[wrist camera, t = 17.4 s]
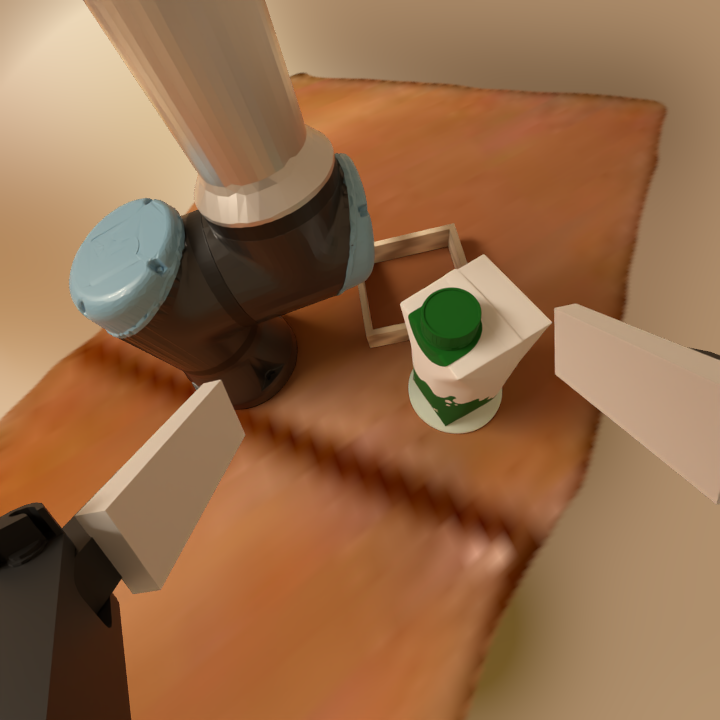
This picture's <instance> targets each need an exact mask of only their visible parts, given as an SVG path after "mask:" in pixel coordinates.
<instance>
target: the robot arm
mask: <svg viewBox="0 0 720 720" xmlns="http://www.w3.org/2000/svg"><path fill="white" fill-rule="evenodd" d="M83 1H84V2H85V4H86V5H87V7H88V8H89V10H90V11H91V13H92V14H93V16H94V17H95V18H96V20H97V22H98V23H99V25H100V26H101V28H102V29H103V31H104V32H105V34H106V35H107V37H108V38H109V40H110V41H111V43H112V44H113V46H114V47H115V49H116V50H117V52H118V53H119V55H120V57H121V58H122V60H123V61H124V62H125V64H126V66H127V67H128V69H129V70H130V72H131V73H132V75H133V76H134V78H135V79H136V81H137V82H138V84H139V85H140V87H141V88H142V90H143V91H144V93H145V94H146V96H147V97H148V99H149V100H150V102H151V103H152V105H153V106H154V108H155V109H156V111H157V112H158V114H159V115H160V117H161V118H162V120H163V121H164V123H165V124H166V126H167V127H168V129H169V130H170V132H171V133H172V135H173V136H174V138H175V139H176V141H177V142H178V144H179V145H180V147H181V148H182V150H183V152H184V153H185V154H186V156H187V157H188V159H189V161H190V162H191V164H192V165H193V167H194V168H195V170H196V171H197V172H198V177H197V181H196V185H195V190H194V200H195V204H196V206H197V208H198V210H196V211H194V212H190V213H188V214H186V215H183V216H180V215H179V213H178V211H177V210H175V208H173V207H171V206H169V205H168V204H166V203H165V202H163V201H161V200H156V199H154V200H152V199H150V198H144V199H138V200H135V201H131V202H128V203H126V204H124V205H122V206H120V207H118V208H117V209H115V210H114V211H112V212H111V213H110V214H108V215H107V216H106V217H105V218H103V220H101V221H100V222H99V223H98V224H97V225H96V226H95V227H94V228H93V229H92V231H91V232H90V233H89V234H88V236H87V237H86V239H85V241H84V242H83V243H82V245H81V246H80V248H79V250H78V251H77V254H76V256H75V258H74V261H73V264H72V267H71V272H70V279H69V288H70V294H71V297H72V300H73V302H74V304H75V306H76V307H77V309H78V310H79V311H80V312H81V313H82V314H83V315H84V316H85V317H87V318H88V319H90V320H92V321H93V322H95V323H96V324H98V325H99V326H101V327H102V328H104V329H106V331H107V332H108V333H109V334H111V335H112V336H114V337H117V338H119V339H121V340H123V341H125V342H127V343H129V344H131V345H133V346H135V347H137V348H139V349H141V350H143V351H145V352H147V353H149V354H151V355H153V356H155V357H157V358H159V359H161V360H163V361H165V362H167V363H169V364H170V365H172V366H174V367H176V368H178V369H180V370H182V371H183V372H184V373H185V374H186V376H187V377H188V379H189V380H190V381H191V382H192V384H193V386H194V387H195V389H196V390H197V391H196V392H195V393H194V394H193V395H192V396H191V397H190V398H189V399H188V400H187V401H186V402H185V403H184V404H183V405H182V406H181V407H180V408H179V409H178V410H177V411H176V412H175V413H174V414H173V415H172V416H171V417H170V418H169V419H168V420H167V421H166V422H165V423H164V425H163V426H162V427H161V428H160V429H159V430H158V431H157V432H156V433H155V434H154V435H153V436H152V437H151V438H150V439H149V440H148V441H147V442H146V443H145V444H144V445H143V446H142V447H141V448H140V449H139V450H138V451H137V452H136V453H135V454H134V455H133V456H132V457H131V458H130V459H129V460H128V462H127V463H126V464H125V465H124V466H123V467H121V468H120V469H119V470H118V471H117V472H116V473H115V474H114V475H113V476H112V478H111V479H110V480H109V481H108V482H107V483H106V484H105V485H104V486H103V487H102V488H101V489H100V490H99V491H98V492H97V493H96V494H95V495H94V496H93V497H92V498H91V499H90V500H89V501H88V502H87V503H86V504H85V505H84V506H83V507H82V508H81V509H80V510H79V511H78V512H77V513H76V514H75V515H74V517H73V518H72V519H71V520H70V521H69V522H68V523H67V524H66V525H65V526H64V527H63V528H61V527H60V526H59V524H58V523H57V522H56V520H55V519H54V518H53V517H52V515H51V514H50V513H49V512H48V510H47V509H46V508H45V506H44V505H43V504H42V503H31V504H28V505H24V506H22V507H19V508H17V509H15V510H12V511H10V512H9V513H7V514H5V515H3V516H1V517H0V720H131V714H130V704H129V694H128V685H127V675H126V665H125V656H124V646H123V636H122V627H121V617H120V607H119V602H118V600H117V598H116V597H115V596H114V594H113V593H112V592H113V591H114V589H115V588H116V586H117V585H118V583H119V582H120V580H121V579H122V580H123V581H124V583H125V584H126V585H127V587H128V588H129V589H130V591H131V592H132V593H133V594H137V593H144V592H150V591H157V590H161V588H162V586H163V585H164V583H165V581H166V579H167V577H168V575H169V574H170V572H171V570H172V568H173V566H174V564H175V563H176V561H177V559H178V557H179V555H180V553H181V552H182V550H183V548H184V546H185V544H186V542H187V541H188V539H189V537H190V535H191V533H192V532H193V530H194V528H195V526H196V524H197V522H198V521H199V519H200V517H201V515H202V513H203V511H204V510H205V508H206V506H207V504H208V502H209V500H210V499H211V497H212V495H213V493H214V491H215V489H216V488H217V486H218V484H219V482H220V480H221V478H222V477H223V475H224V473H225V471H226V469H227V468H228V466H229V464H230V462H231V460H232V458H233V457H234V455H235V453H236V451H237V449H238V447H239V446H240V444H241V442H242V440H243V438H244V436H245V433H244V431H243V429H242V426H241V424H240V422H239V420H238V417H237V415H236V413H235V410H234V409H246V408H251V407H254V406H257V405H259V404H261V403H263V402H265V401H267V400H268V399H270V398H271V397H273V396H274V395H275V394H276V393H277V392H278V391H279V390H280V389H281V388H282V387H283V386H284V385H285V383H286V382H287V381H288V379H289V377H290V375H291V374H292V371H293V369H294V366H295V363H296V358H297V342H296V338H295V335H294V333H293V331H292V329H291V328H290V326H289V325H288V324H287V322H286V321H285V320H284V319H283V318H282V316H281V315H284V314H287V313H289V312H292V311H295V310H297V309H300V308H303V307H306V306H308V305H311V304H314V303H317V302H319V301H322V300H325V299H328V298H330V297H333V296H337V295H340V294H342V293H343V292H344V291H345V290H348V289H350V288H352V287H354V286H356V285H358V284H361V283H363V282H364V281H365V280H367V279H368V277H369V276H370V274H371V272H372V270H373V266H374V259H375V248H374V237H373V229H372V223H371V218H370V215H369V213H368V211H367V201H366V196H365V192H364V188H363V185H362V182H361V179H360V176H359V174H358V171H357V169H356V167H355V165H354V163H353V161H352V160H351V158H350V157H349V156H347V155H346V154H342V153H341V154H338V153H336V154H334V151H333V147H332V144H331V142H330V141H329V139H328V138H327V137H326V136H325V135H324V134H322V133H321V132H319V131H317V130H315V129H314V128H312V127H310V126H308V125H306V124H305V123H304V120H303V117H302V114H301V111H300V108H299V105H298V102H297V99H296V95H295V92H294V89H293V86H292V83H291V80H290V77H289V74H288V71H287V67H286V64H285V61H284V58H283V55H282V52H281V49H280V46H279V43H278V40H277V36H276V33H275V30H274V27H273V24H272V21H271V18H270V15H269V12H268V8H267V5H266V2H265V0H83ZM554 326H555V375H557V376H558V377H559V378H560V379H562V380H563V381H564V382H565V383H567V384H568V385H569V386H570V387H571V388H573V389H574V390H575V391H576V392H578V393H579V394H580V395H581V396H583V397H584V398H585V399H586V400H588V401H589V402H590V403H591V404H593V405H594V406H595V407H596V408H598V409H599V410H600V411H601V412H602V413H604V414H605V415H606V416H607V417H609V418H610V419H611V420H612V421H614V422H615V423H616V424H617V425H619V426H620V427H621V428H622V429H624V430H625V431H626V432H627V433H628V434H630V435H631V436H632V437H633V438H635V439H636V440H637V441H639V442H640V443H641V444H642V445H643V446H645V447H646V448H647V449H648V450H650V451H651V452H652V453H653V454H655V455H656V456H657V457H658V458H659V459H661V460H662V461H663V462H664V463H666V464H667V465H668V466H669V467H671V468H672V469H673V470H674V471H676V472H677V473H678V474H679V475H680V476H682V477H683V478H684V479H685V480H687V481H688V482H689V483H690V484H692V485H693V486H694V487H695V488H697V489H698V490H699V491H700V492H702V493H703V494H704V495H705V496H707V497H708V498H709V499H710V500H711V501H713V502H714V503H715V504H720V355H717V354H715V353H712V352H708V351H703V350H698V349H693V348H688V347H685V346H682V345H680V344H677V343H675V342H672V341H670V340H667V339H665V338H662V337H659V336H657V335H654V334H652V333H649V332H647V331H644V330H642V329H639V328H637V327H634V326H632V325H629V324H627V323H624V322H622V321H619V320H616V319H614V318H611V317H609V316H606V315H604V314H601V313H599V312H596V311H594V310H591V309H589V308H586V307H584V306H581V305H579V304H576V303H575V304H571V305H566V306H561V307H557V308H554Z"/></svg>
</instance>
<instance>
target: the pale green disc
mask: <svg viewBox="0 0 720 720" xmlns="http://www.w3.org/2000/svg"><path fill="white" fill-rule="evenodd" d="M413 374H414V372H413V370H412V372H411V374H410V378H409V384H408V391H409V398H410V401H411V404H412V406H413V408H414V410H415V412H416V413H417V415H418V416H419V417H420V418H421V419H422V420H423V421H424V422H425V423H427V424H428V425H429V426H431V427H433V428H434V429H437V430H439V431H442V432H446V433H452V434H462V433H468V432H472V431H475V430H477V429H479V428H481V427H483V426H484V425H485V424H487V423H488V422H489V421H490V420H491V419H492V418H493V416H494V415H495V414H496V412H497V410H498V408H499V406H500V403H501V399H502V388H501V389H500V391H499V392H498V394H497V395H496V396H495V397H494V399H492V400H491V401H489V402H488V403H486V404H484V405H483V406H481V407H479V408H478V409H476V410H474V411H472V412H471V413H469V414H467V415H465V416H464V417H462V418H460V419H458V420H456V421H454V422H452V423H451V424H449V425H447V426H445V425H444V424H443V422H442V421H441V419H440V418H439V417H438V415H437V414H436V412H435V411H434V410H433V408H432V407H431V405H430V404H429V403H428V401H427V400H426V399H425V397H424V396H423V394H422V393H421V391H420V390H419V388H418V387H417V385H416V384H415V382H414V380H413Z"/></svg>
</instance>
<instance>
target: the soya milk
mask: <svg viewBox="0 0 720 720" xmlns="http://www.w3.org/2000/svg"><path fill="white" fill-rule="evenodd" d="M400 306H401V310H402V313H403V317H404V320H405V324H406V328H407V331H408V335H409V339H410V343H411V348H412V360H413V372H414V374H413V380H414V382H415V384H416V385H417V387H418V388H419V390H420V391H421V393H422V394H423V396H424V397H425V399H426V400H427V401H428V403H429V404H430V405H431V407H432V408H433V410H434V411H435V412H436V414H437V415H438V417H439V418H440V419H441V421H442V422H443V424H444V425H445V426H447V425H449V424H451V423H452V422H454V421H456V420H458V419H460V418H462V417H464V416H465V415H467V414H469V413H471V412H472V411H474V410H476V409H478V408H479V407H481V406H483V405H484V404H486V403H488V402H489V401H491V400H492V399H494V397H495V396H496V395H497V394H498V392H499V391H500V389H501V388H502V386H503V385H504V383H505V382H506V380H507V379H508V378H509V376H510V375H511V373H512V372H513V370H514V369H515V367H516V366H517V364H518V363H519V361H520V360H521V359H522V358H523V357H524V355H525V354H526V353H527V352H528V351H529V349H530V348H531V347H532V346H533V345H534V343H535V342H536V341H537V340H538V339H539V337H540V336H541V335H542V334H543V332H544V331H545V330H546V329H547V328H548V327H549V326H550V324H551V323H552V322H551V321H550V319H549V318H548V317H547V316H546V315H545V314H544V313H543V312H542V311H541V310H540V309H539V308H538V307H537V306H536V305H535V304H534V303H533V302H532V301H531V300H530V299H529V298H528V297H527V296H526V295H525V294H524V293H523V292H522V291H521V290H520V289H519V288H518V287H517V286H516V285H515V284H514V283H513V282H512V281H511V280H510V279H509V278H508V277H507V276H506V275H505V274H504V273H503V272H502V271H501V270H500V269H499V268H498V267H497V266H496V265H495V264H494V263H493V262H492V261H491V260H490V259H489V258H488V257H487V256H486V255H485V254H483V255H481V256H479V257H478V258H476V259H474V260H473V261H471V262H469V263H468V264H466V265H464V266H463V267H461V268H459V269H454V270H452V271H450V272H449V273H447V274H446V275H444V276H443V277H442V278H440V279H438V280H437V281H435V282H434V283H432V284H430V285H429V286H427V287H425V288H424V289H422V290H420V291H419V292H417V293H415V294H414V295H412V296H411V297H409V298H407V299H406V300H404V301H402V302H401V304H400Z"/></svg>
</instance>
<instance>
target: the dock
mask: <svg viewBox="0 0 720 720" xmlns="http://www.w3.org/2000/svg"><path fill="white" fill-rule="evenodd" d="M443 247H448V248H449V251H450V254H451V257H452V261H453V264H454V267H455V269H459V268H461V267H463V266H464V265H466V264H468V263H467V260H466V257H465V254H464V251H463V248H462V245H461V243H460V240H459V237H458V234H457V231H456V228H455V225H454V223H453V224H449V225H445V226H441V227H436V228H432V229H428V230H424V231H419V232H415V233H411V234H407V235H402V236H398V237H394V238H390V239H385V240H381V241H377V242H374V248H375V259H374V263H378V262H382V261H386V260H391V259H395V258H399V257H404V256H408V255H413V254H417V253H421V252H426V251H430V250H434V249H439V248H443ZM358 289H359V295H360V301H361V307H362V313H363V319H364V326H365V332H366V337H367V340H368V343H369V346H370V348H373V347H378V346H383V345H388V344H393V343H398V342H403V341H408V340H410V339H409V335H408V331H407V328H406V324H405V323H402V324H397V325H392V326H387V327H383V328H378V329H373V326H372V320H371V314H370V309H369V303H368V297H367V292H366V286H365V281H364V282H363V283H361V284H358Z"/></svg>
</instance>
